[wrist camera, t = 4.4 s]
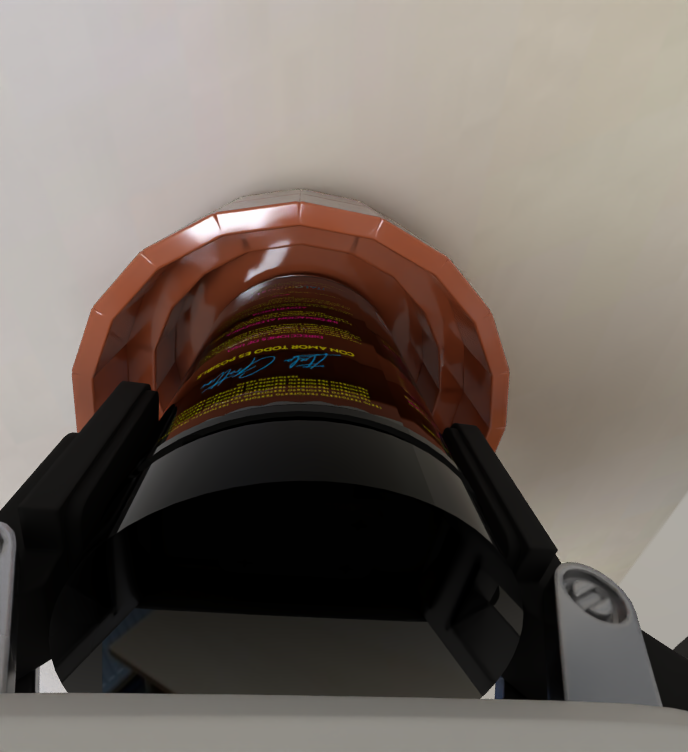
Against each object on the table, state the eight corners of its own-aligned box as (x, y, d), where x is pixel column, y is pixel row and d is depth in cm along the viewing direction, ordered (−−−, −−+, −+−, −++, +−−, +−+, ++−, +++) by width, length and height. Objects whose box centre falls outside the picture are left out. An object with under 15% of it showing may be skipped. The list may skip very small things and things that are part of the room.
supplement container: (165, 330, 15) (-79, 628, 5) (338, 228, 14) (413, 377, 4) (273, 463, 17) (239, 806, 8) (422, 388, 16) (575, 683, 7)
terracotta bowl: (495, 227, 14) (580, 257, 10) (407, 487, 19) (439, 585, 15) (139, 153, 13) (50, 150, 8) (143, 461, 17) (88, 563, 13)
